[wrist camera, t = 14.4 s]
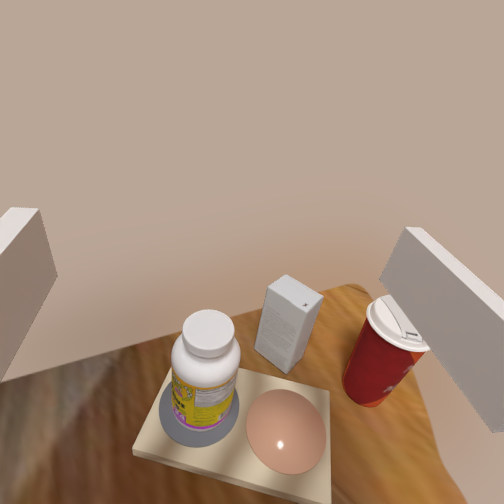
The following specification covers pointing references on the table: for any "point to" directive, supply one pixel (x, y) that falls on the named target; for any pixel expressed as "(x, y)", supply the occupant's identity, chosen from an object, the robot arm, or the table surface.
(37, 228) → the robot arm
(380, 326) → the paper cup
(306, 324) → the skincare box
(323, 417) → the birch board
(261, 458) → the terracotta pad
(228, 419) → the slate pad
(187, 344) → the supplement bottle
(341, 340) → the table surface
